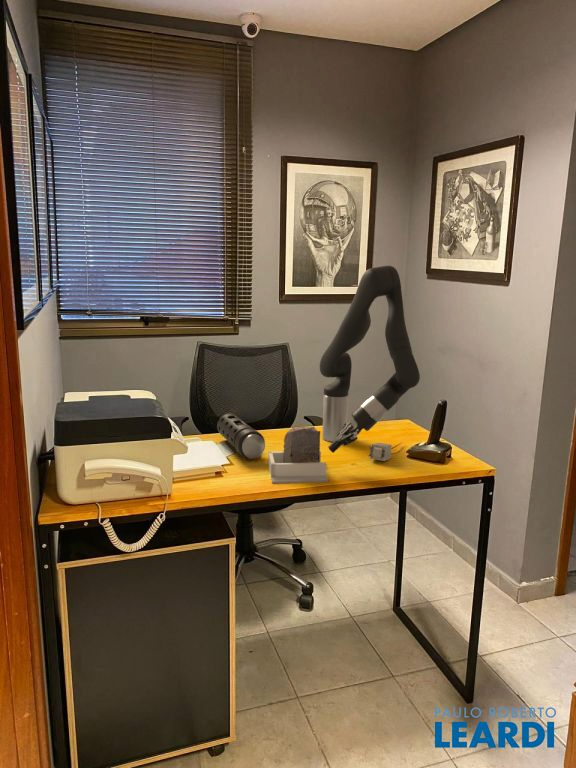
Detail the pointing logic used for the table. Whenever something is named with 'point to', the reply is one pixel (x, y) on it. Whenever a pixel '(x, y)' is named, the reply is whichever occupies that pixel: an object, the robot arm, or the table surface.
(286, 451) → the geological specimen
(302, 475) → the open rectangular box
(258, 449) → the muzzle brake
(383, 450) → the electrical component
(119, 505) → the table surface
